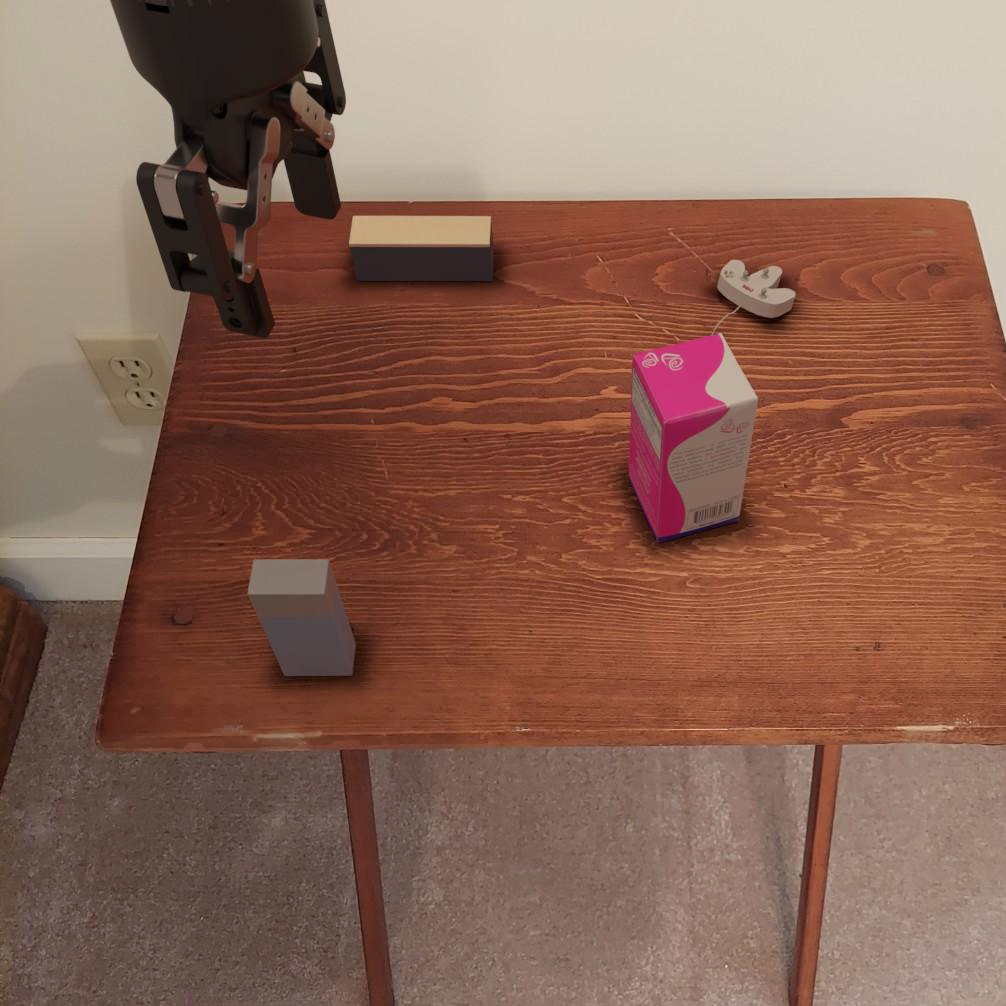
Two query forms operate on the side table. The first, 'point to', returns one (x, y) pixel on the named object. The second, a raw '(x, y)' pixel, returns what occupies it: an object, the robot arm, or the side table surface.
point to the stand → (422, 248)
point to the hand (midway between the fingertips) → (287, 269)
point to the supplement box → (690, 436)
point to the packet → (303, 616)
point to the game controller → (755, 290)
